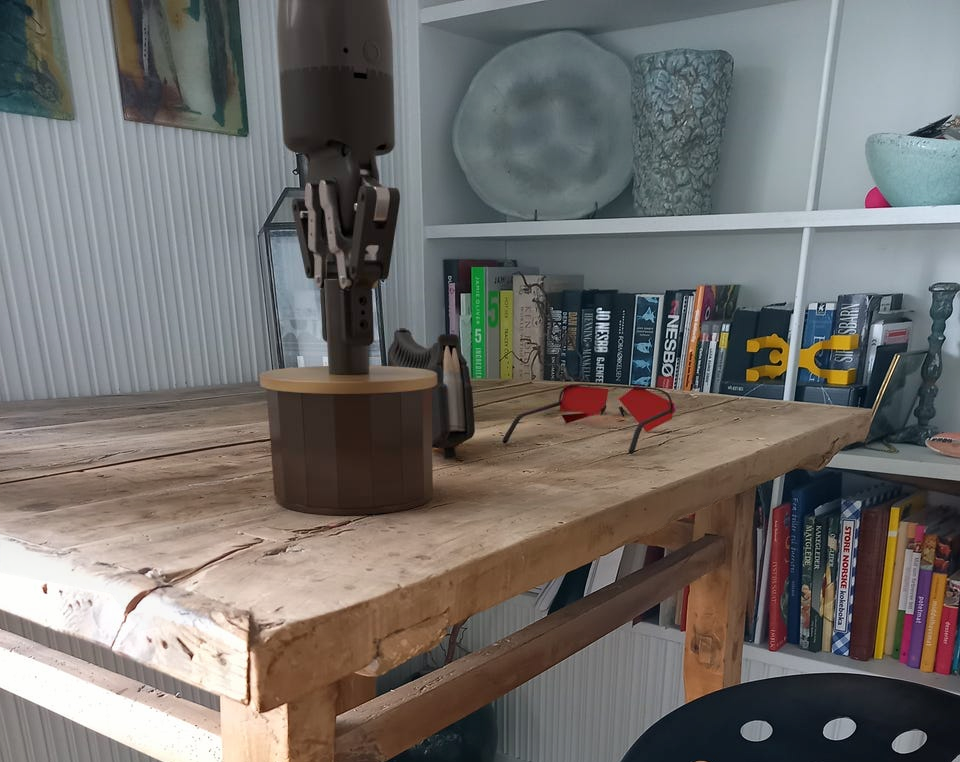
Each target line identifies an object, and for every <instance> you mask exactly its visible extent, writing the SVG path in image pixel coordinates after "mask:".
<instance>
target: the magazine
mask: <svg viewBox="0 0 960 762" xmlns="http://www.w3.org/2000/svg"><path fill="white" fill-rule="evenodd" d="M467 364H468V361H467V359H466V358H465V357H464V355H463V354H462V351H461V347H460V338H459V336H458V334H457V333H456V334H455V333H443V334H442V333H441V334H440V335H438V337H437V341H436V342H434V343H433V344H432V345H431V346H430V347H429V348H426V347H425V346H423V345H421V344H419V343H417V342H416V340H415V339H414V338H413V335H412V332H411V331H410V329H407V328H405V327H399V328H398V329H396V330H395V331H394V332H393V341H392V343H391V344H390V346H389V348H388V351H387V366H392V367H408V368H418V369H426V370H431V371H434V372H436V373H437V385H436V386H434V387H432V449H439V450H441V449H442V453H443V459H456V448H457V447H459V446H460V445H462V444H464V443H465V442H467V441H468V440H471V439H472V438H473V437H474V436H475V432H476V424H475V411H474V397H473V396H474V394H473V386H472V382H471V375H470V368H469V366H468V365H467Z"/></svg>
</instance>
